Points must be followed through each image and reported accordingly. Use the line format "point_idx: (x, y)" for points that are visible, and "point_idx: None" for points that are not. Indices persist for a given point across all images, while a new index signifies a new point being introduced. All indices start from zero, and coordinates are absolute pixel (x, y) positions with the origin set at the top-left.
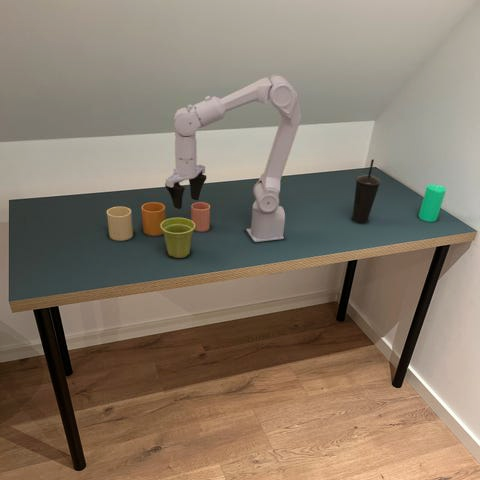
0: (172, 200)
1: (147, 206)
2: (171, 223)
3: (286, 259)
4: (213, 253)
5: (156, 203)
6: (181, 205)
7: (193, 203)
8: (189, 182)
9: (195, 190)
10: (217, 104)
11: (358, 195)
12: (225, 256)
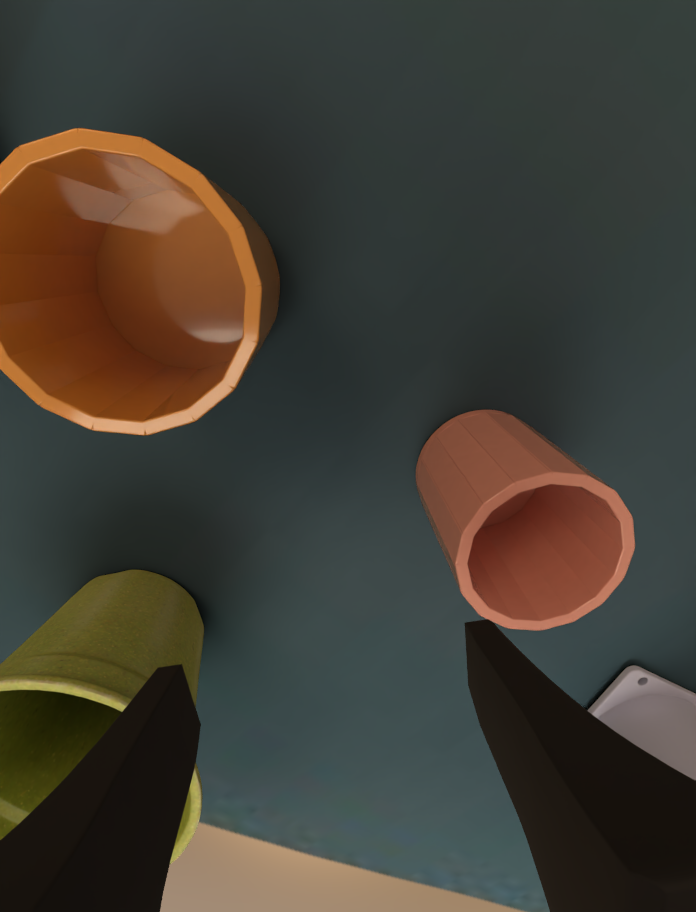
0: (109, 729)
1: (116, 160)
2: (83, 666)
3: (504, 900)
4: (296, 721)
5: (219, 223)
6: (187, 769)
7: (547, 473)
8: (553, 769)
9: (513, 766)
10: None
11: None
12: (322, 767)
